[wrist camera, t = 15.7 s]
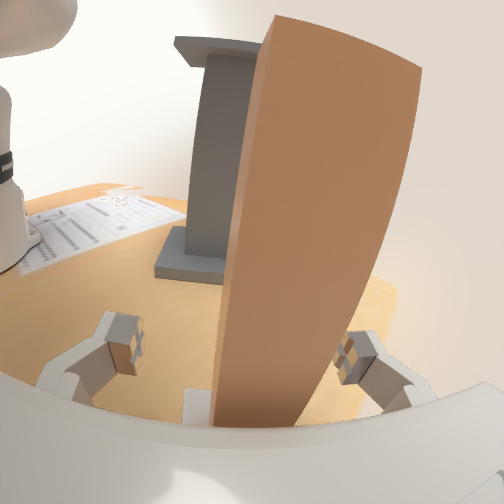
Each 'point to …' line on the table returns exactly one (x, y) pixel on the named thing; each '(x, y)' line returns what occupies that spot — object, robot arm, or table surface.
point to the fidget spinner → (112, 200)
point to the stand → (212, 159)
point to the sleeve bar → (304, 217)
